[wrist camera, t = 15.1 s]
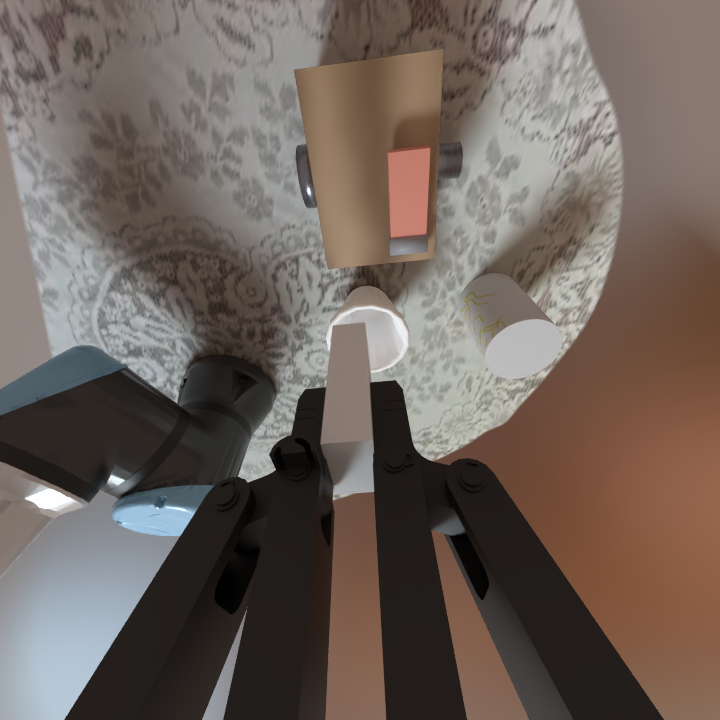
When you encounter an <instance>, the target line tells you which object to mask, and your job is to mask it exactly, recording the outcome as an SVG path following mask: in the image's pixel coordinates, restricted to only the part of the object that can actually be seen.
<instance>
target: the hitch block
mask: <svg viewBox="0 0 720 720" xmlns="http://www.w3.org/2000/svg"><path fill="white" fill-rule="evenodd" d="M443 52H444V49H438V50H431V51H424V52H417V53H410V54H403V55H396V56H389V57H382V58H374V59H367V60H360V61H353V62H346V63H339V64H332V65H325V66H318V67H310V68H303V69H296V70H294V72H295V78H296V84H297V90H298V96H299V102H300V108H301V114H302V119H303V125H304V131H305V137H306V143H307V149H308V155H309V161H310V166H311V172H312V178H313V184H314V190H315V196H316V202H317V208H318V213H319V219H320V225H321V231H322V237H323V243H324V249H325V255H326V260H327V266H328V269H334V268H344V267H355V266H365V265H375V264H386V263H396V262H406V261H417V260H427V259H434V248H435V226H436V204H437V183H438V161H439V139H440V117H441V95H442V74H443ZM424 145H429V147H430V168H429V188H428V209H427V230H426V233H427V235H428V251H427V252H424V253H414V254H404V255H394V256H390V248H389V236H390V218H389V189H388V159H387V150H391V149H399V148H407V147H416V146H424Z"/></svg>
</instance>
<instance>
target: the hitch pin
mask: <svg viewBox="0 0 720 720" xmlns="http://www.w3.org/2000/svg"><path fill="white" fill-rule="evenodd" d="M462 157H463V153H462V145H461V142H454V143H446V144H439V161H438V180H441V179H449V178H458V177H459V175H460V172H461V168H462ZM296 164H297V172H298V178H299V184H300V188H301V193H302V196H303V200H304V202H305V205H306V207H307V208H315V207H317V202H316V196H315V190H314V184H313V178H312V172H311V166H310V161H309V155H308V149H307V144H306V145H298V146H297V147H296Z"/></svg>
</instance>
